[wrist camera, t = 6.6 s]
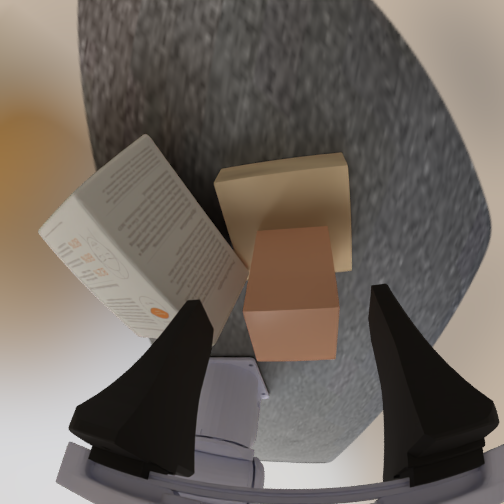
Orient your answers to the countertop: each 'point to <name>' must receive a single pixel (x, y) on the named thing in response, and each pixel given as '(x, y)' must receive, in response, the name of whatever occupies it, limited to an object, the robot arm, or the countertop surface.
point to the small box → (145, 243)
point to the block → (292, 296)
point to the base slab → (288, 202)
